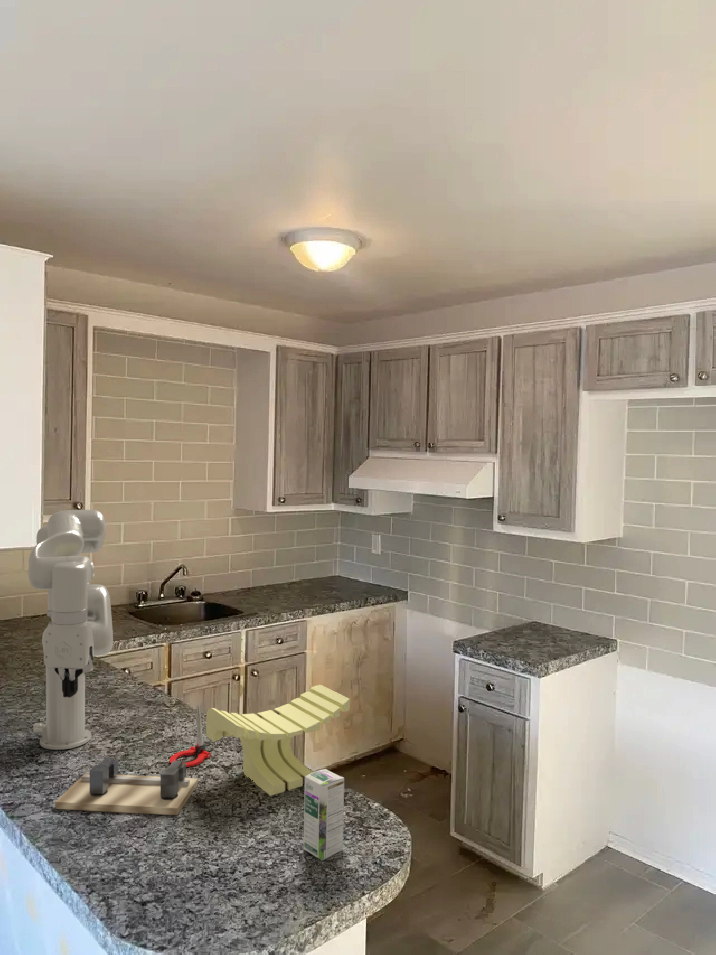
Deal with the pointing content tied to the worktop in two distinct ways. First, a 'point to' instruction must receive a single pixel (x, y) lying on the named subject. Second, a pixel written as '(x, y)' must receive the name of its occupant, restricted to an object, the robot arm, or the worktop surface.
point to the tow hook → (198, 748)
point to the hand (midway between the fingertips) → (70, 695)
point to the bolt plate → (134, 793)
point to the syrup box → (323, 813)
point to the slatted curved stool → (277, 736)
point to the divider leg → (103, 775)
